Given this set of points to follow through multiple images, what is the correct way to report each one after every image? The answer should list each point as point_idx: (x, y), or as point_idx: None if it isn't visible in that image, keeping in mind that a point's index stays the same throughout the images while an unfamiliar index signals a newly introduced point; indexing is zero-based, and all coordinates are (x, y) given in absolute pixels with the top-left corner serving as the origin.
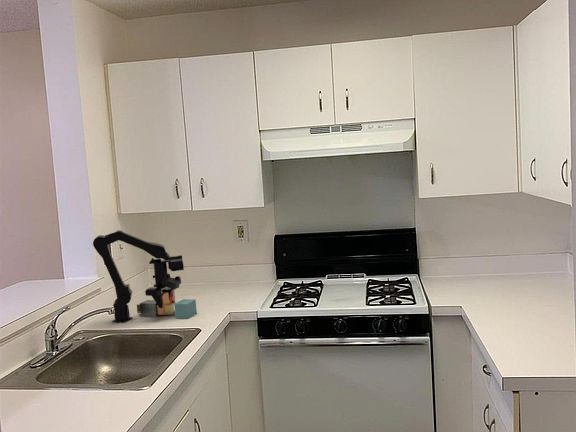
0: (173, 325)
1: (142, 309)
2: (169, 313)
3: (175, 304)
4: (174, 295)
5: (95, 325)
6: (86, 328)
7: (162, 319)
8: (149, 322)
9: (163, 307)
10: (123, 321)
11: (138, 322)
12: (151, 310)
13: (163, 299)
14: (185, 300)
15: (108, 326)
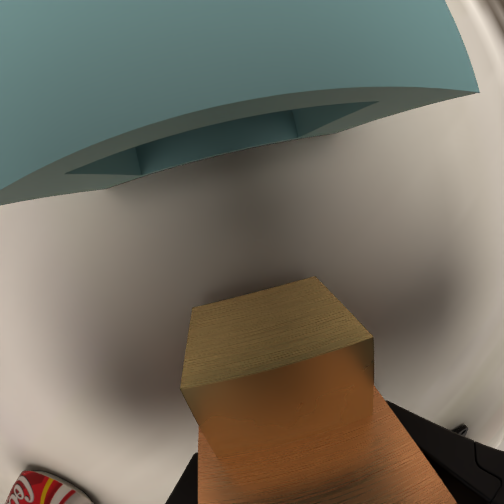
0: (470, 38)
1: None
2: (317, 281)
3: (459, 69)
4: (9, 499)
5: None
6: (496, 443)
7: (407, 261)
8: (476, 298)
9: (376, 391)
10: (467, 427)
11: (471, 368)
12: None
13: (415, 495)
14: (56, 17)
15: (496, 416)
